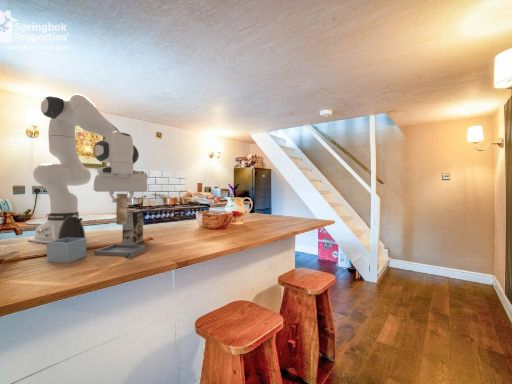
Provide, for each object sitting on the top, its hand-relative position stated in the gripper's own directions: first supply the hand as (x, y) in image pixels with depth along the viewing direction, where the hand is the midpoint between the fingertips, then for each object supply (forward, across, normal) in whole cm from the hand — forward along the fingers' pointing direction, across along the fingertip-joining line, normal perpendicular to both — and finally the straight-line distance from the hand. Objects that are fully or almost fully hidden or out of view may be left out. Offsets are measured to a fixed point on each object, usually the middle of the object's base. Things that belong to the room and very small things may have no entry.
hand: (121, 202), depth 104 cm
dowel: (+9, 0, 0) cm, 9 cm away
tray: (+22, 0, 0) cm, 22 cm away
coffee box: (+22, -8, -17) cm, 29 cm away
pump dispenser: (+22, +16, -18) cm, 33 cm away
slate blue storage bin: (+22, +18, 0) cm, 29 cm away
